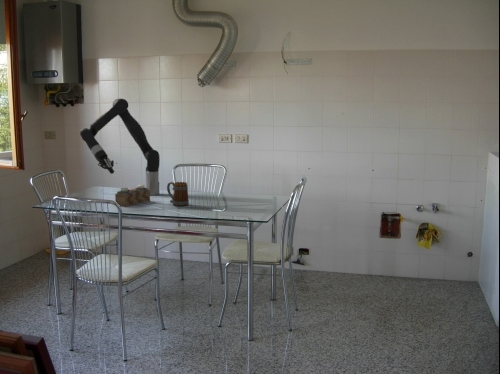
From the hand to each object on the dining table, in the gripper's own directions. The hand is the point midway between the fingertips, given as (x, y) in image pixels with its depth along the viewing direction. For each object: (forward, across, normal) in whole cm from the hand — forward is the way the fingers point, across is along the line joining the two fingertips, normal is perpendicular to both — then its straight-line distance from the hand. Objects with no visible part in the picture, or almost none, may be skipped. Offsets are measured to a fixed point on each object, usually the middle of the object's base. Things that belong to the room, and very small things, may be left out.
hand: (112, 172), depth 328 cm
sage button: (+15, 0, +1) cm, 15 cm away
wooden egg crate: (+22, +8, +8) cm, 24 cm away
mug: (+41, +21, -12) cm, 47 cm away
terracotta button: (+16, +8, +2) cm, 18 cm away
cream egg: (+15, +16, +1) cm, 22 cm away
